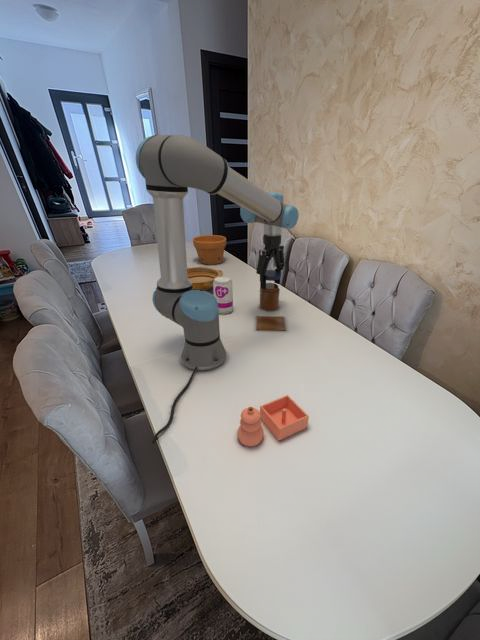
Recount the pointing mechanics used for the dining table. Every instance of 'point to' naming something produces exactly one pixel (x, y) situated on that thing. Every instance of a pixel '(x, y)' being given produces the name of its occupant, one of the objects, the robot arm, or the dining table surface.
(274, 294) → the jar
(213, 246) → the flower pot
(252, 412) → the pottery
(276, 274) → the jar lid
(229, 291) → the supplement can
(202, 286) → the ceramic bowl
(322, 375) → the dining table surface
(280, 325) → the coaster
